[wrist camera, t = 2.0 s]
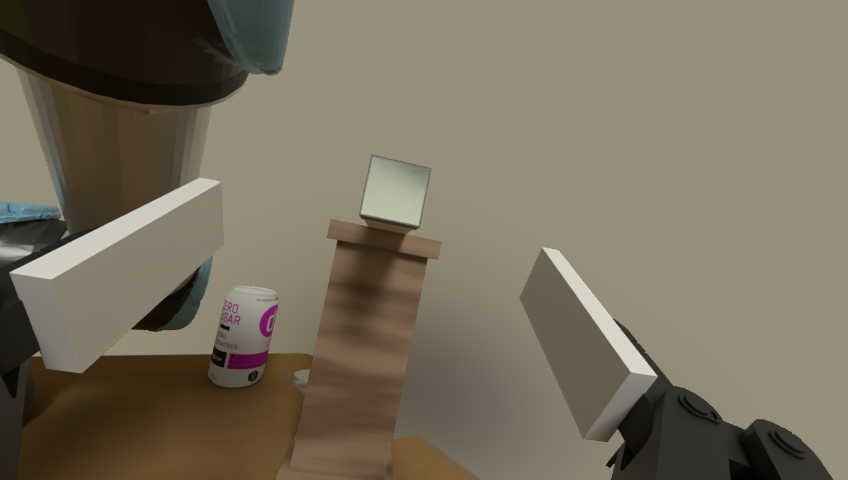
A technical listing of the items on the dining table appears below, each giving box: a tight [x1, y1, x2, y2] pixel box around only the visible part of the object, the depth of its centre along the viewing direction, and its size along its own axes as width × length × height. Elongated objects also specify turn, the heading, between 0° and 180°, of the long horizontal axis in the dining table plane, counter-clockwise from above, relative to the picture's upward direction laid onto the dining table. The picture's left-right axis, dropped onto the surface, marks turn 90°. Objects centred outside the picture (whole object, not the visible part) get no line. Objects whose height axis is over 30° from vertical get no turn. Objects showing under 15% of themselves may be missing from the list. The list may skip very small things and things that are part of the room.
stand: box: [275, 219, 441, 480], centre depth 45 cm, size 20×12×28 cm, turn 7°
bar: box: [359, 155, 431, 234], centre depth 38 cm, size 30×4×4 cm, turn 7°
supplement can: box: [208, 286, 279, 388], centre depth 56 cm, size 8×8×15 cm
